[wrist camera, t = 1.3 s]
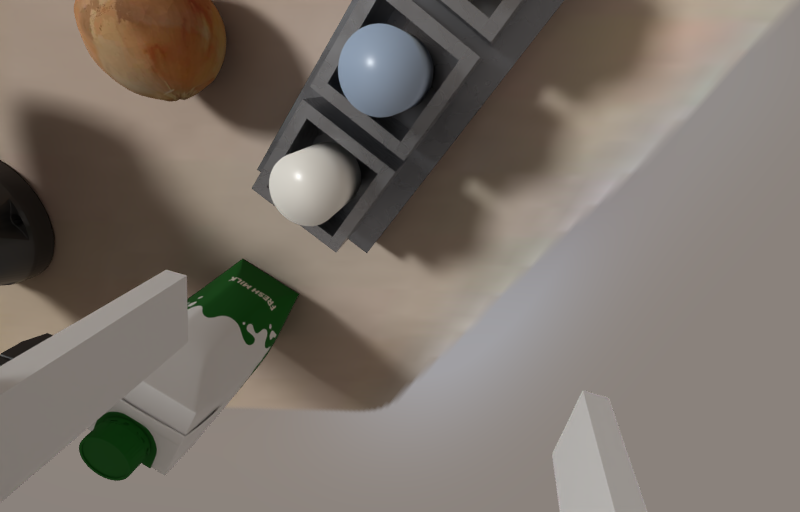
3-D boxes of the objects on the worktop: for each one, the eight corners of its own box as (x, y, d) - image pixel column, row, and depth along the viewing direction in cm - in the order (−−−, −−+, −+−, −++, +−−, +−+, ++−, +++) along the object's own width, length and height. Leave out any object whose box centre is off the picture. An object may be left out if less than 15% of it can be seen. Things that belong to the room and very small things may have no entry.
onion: (190, 118, 40) (102, 130, 31) (124, 12, 38) (8, -8, 29) (269, 64, 37) (196, 61, 28) (202, -56, 34) (98, -102, 25)
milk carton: (211, 307, 48) (43, 445, 30) (238, 246, 45) (64, 362, 27) (278, 348, 49) (150, 509, 31) (311, 291, 45) (187, 436, 27)
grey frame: (273, 163, 40) (224, 182, 33) (466, -171, 29) (456, -254, 21) (375, 241, 41) (349, 276, 34) (602, -51, 30) (637, -91, 22)
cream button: (288, 179, 34) (256, 195, 30) (320, 127, 32) (291, 136, 28) (339, 218, 35) (315, 240, 30) (373, 169, 32) (353, 185, 28)
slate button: (348, 81, 30) (322, 81, 26) (389, 14, 28) (368, 3, 24) (404, 125, 31) (388, 134, 26) (448, 63, 29) (439, 61, 24)
